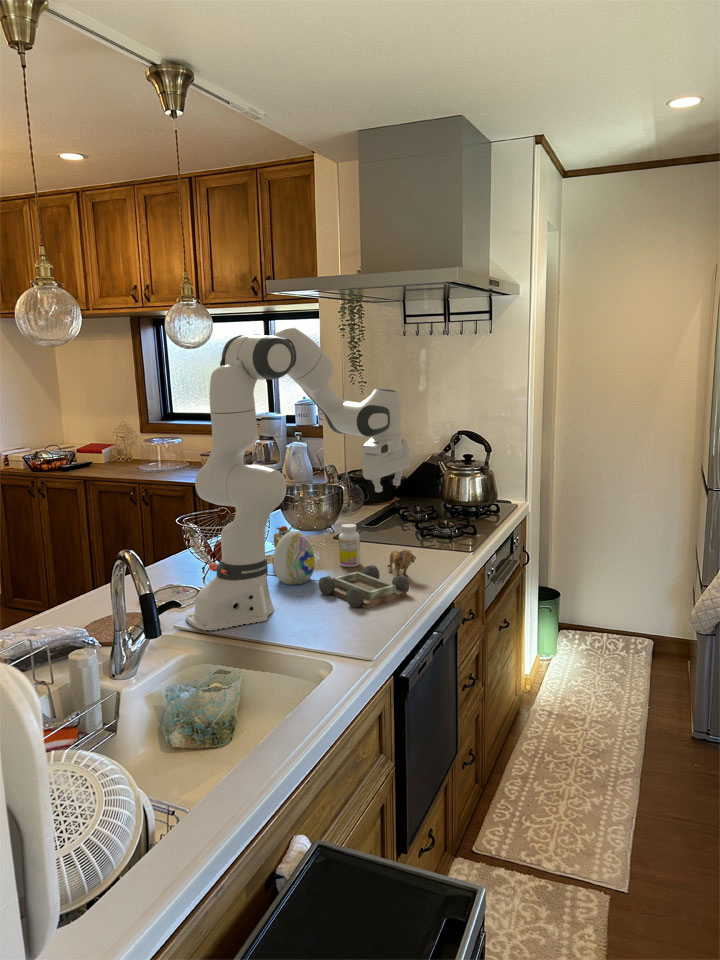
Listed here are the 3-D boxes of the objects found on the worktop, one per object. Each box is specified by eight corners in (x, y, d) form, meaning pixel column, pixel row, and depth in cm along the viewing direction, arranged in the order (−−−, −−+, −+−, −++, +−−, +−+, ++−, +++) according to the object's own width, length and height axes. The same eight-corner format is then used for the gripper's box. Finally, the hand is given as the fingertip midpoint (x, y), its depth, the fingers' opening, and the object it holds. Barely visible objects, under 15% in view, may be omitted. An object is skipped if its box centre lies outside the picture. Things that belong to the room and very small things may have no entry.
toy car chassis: (360, 610, 188) (359, 592, 187) (316, 591, 203) (316, 574, 202) (411, 595, 199) (411, 578, 198) (366, 578, 214) (366, 562, 213)
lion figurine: (418, 579, 213) (418, 550, 211) (402, 582, 210) (402, 552, 209) (394, 567, 226) (394, 539, 224) (379, 569, 223) (379, 541, 222)
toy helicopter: (276, 574, 220) (274, 530, 218) (264, 556, 240) (262, 516, 237) (302, 571, 223) (300, 528, 220) (288, 554, 242) (287, 514, 240)
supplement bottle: (347, 560, 233) (346, 522, 231) (364, 563, 230) (363, 524, 227) (335, 565, 228) (334, 526, 226) (352, 569, 224) (351, 528, 222)
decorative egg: (299, 589, 206) (297, 538, 203) (265, 583, 212) (263, 533, 210) (323, 577, 216) (322, 529, 213) (290, 572, 222) (288, 524, 220)
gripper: (397, 436, 223) (398, 480, 227) (357, 447, 207) (359, 494, 211) (414, 438, 220) (415, 482, 223) (375, 449, 204) (376, 497, 207)
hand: (387, 488), depth 217 cm, fingers open, 8 cm apart
